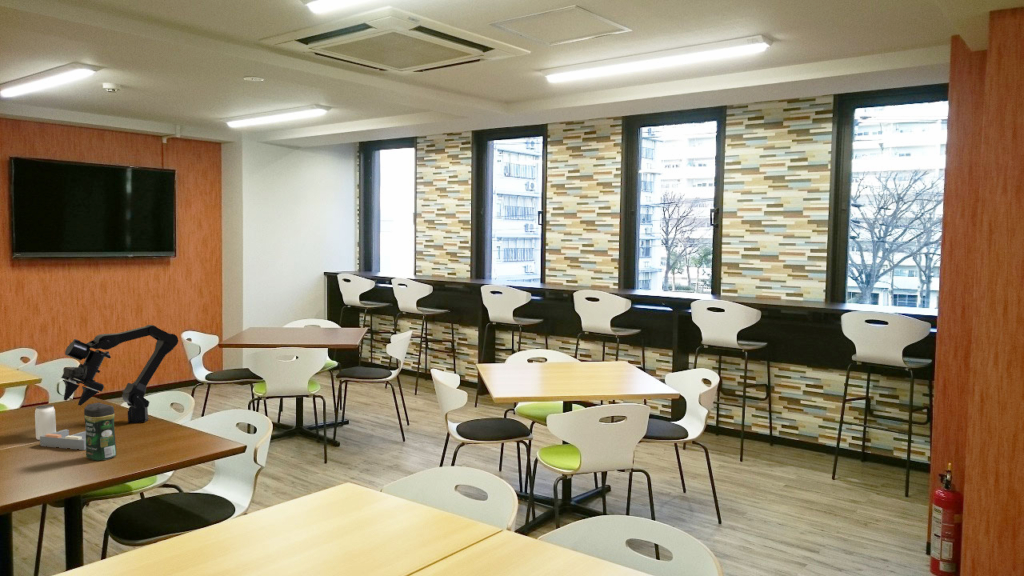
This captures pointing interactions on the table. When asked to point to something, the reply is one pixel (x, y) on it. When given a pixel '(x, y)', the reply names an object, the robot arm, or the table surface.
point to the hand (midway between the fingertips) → (72, 402)
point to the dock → (64, 440)
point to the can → (45, 420)
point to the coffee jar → (100, 431)
